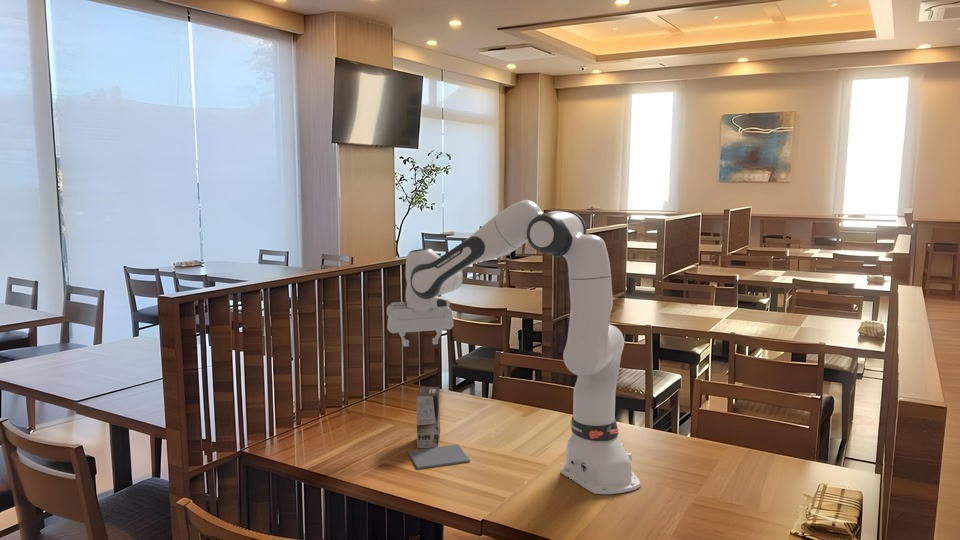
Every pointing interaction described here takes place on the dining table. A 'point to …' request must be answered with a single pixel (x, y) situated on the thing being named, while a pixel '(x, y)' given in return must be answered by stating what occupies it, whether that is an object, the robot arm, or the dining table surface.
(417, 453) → the rubber mat
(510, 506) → the dining table surface
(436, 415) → the coffee box
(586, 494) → the dining table surface
